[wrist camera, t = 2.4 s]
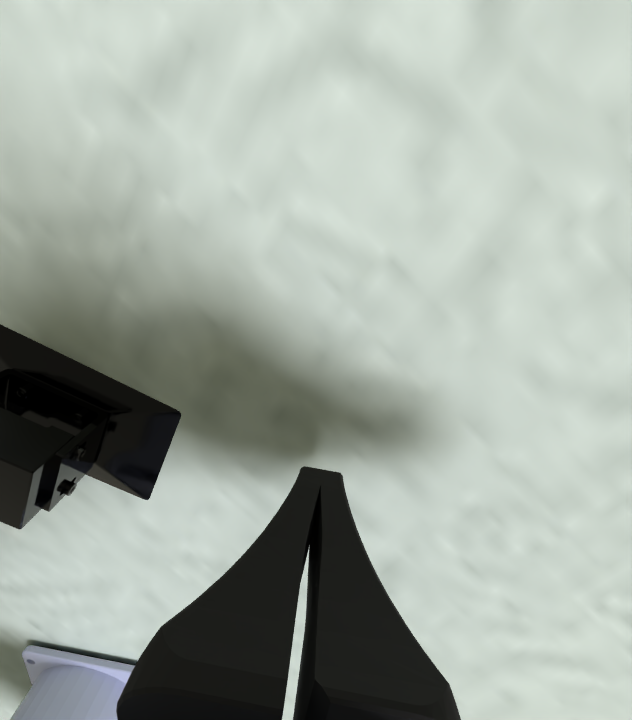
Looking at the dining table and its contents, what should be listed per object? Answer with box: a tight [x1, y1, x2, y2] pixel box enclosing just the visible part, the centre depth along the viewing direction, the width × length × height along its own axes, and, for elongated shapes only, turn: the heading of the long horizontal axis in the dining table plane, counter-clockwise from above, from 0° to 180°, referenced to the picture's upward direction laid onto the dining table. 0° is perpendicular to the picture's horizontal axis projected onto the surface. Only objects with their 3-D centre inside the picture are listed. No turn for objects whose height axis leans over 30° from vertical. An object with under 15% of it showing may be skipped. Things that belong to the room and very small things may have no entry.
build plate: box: [0, 325, 181, 529], centre depth 14 cm, size 12×7×5 cm, turn 63°
